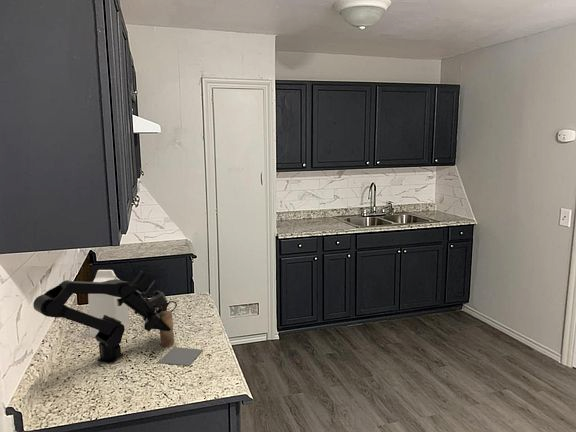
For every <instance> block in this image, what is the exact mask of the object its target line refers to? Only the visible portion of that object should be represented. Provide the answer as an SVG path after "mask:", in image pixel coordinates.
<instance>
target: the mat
mask: <svg viewBox="0 0 576 432" xmlns="http://www.w3.org/2000/svg"><path fill="white" fill-rule="evenodd" d="M202 352H204V349H199V348H191V347H190V348H188V347H178V346H177V347H176V346H173V347H172V348H171V349H170V350H169V351H168V352H167V353H166V354H165V355H164V356H163V357H162V358H161V359H159V360H158V361H157V364H165V365H174V366H175V365H176V366H184V367H189V366H191V365H192V364H193V362H194V361H196V359H197V358H198V357H199V356H200V355H201V354H202Z"/></svg>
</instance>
